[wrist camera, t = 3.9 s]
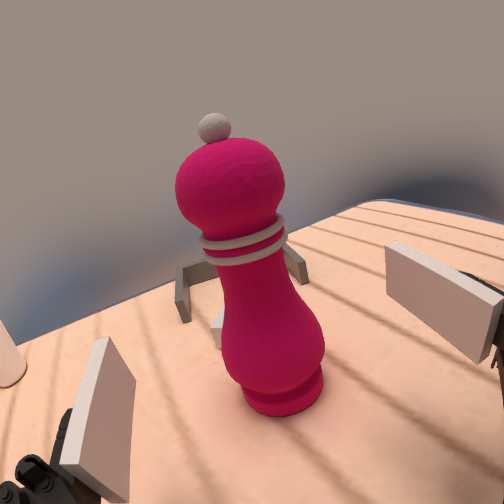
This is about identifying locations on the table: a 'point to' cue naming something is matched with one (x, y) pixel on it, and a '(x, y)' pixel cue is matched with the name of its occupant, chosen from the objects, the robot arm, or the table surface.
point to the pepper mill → (252, 269)
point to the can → (9, 360)
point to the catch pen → (207, 271)
